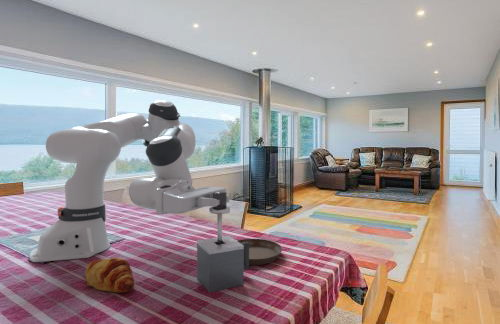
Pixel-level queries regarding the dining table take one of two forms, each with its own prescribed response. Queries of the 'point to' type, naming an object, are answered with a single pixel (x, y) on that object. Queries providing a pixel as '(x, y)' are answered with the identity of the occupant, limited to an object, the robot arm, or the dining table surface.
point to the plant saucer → (262, 251)
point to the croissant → (110, 275)
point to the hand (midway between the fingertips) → (223, 201)
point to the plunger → (220, 212)
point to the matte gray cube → (221, 263)
